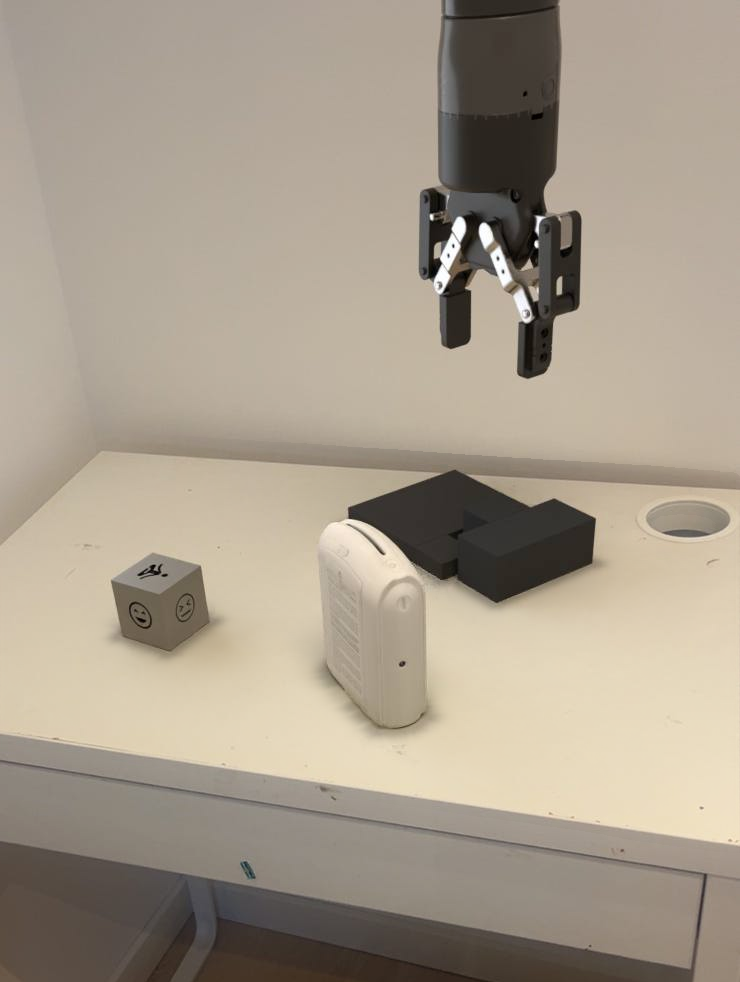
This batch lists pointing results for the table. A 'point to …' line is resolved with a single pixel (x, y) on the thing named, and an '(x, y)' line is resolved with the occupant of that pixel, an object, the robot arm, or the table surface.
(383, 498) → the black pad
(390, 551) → the photo printer
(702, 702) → the table surface
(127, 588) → the dice cube
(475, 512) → the black t-shaped block
